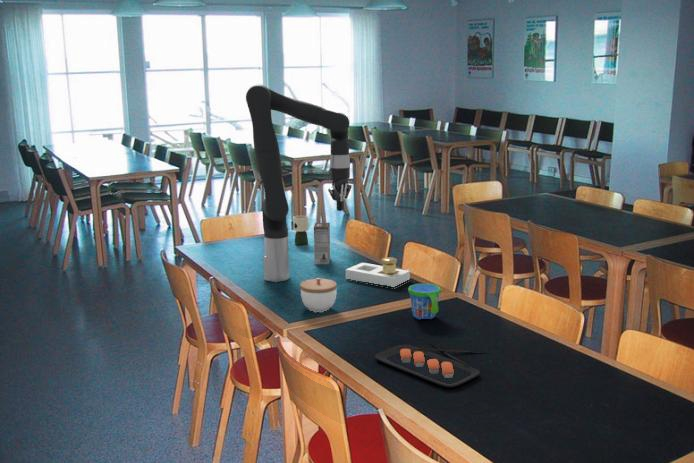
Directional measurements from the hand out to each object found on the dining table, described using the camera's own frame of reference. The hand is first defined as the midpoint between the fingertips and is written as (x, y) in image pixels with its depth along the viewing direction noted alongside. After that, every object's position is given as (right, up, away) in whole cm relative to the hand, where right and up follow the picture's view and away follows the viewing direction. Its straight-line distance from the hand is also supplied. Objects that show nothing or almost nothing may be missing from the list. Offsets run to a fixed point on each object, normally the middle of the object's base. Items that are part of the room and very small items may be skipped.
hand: (340, 210), depth 281 cm
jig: (+15, -27, +3) cm, 31 cm away
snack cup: (+28, -37, -38) cm, 60 cm away
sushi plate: (+30, -46, -73) cm, 91 cm away
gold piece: (+19, -28, 0) cm, 33 cm away
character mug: (-19, -14, +59) cm, 63 cm away
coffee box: (-8, -21, +29) cm, 37 cm away
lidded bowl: (-7, -35, -30) cm, 47 cm away
